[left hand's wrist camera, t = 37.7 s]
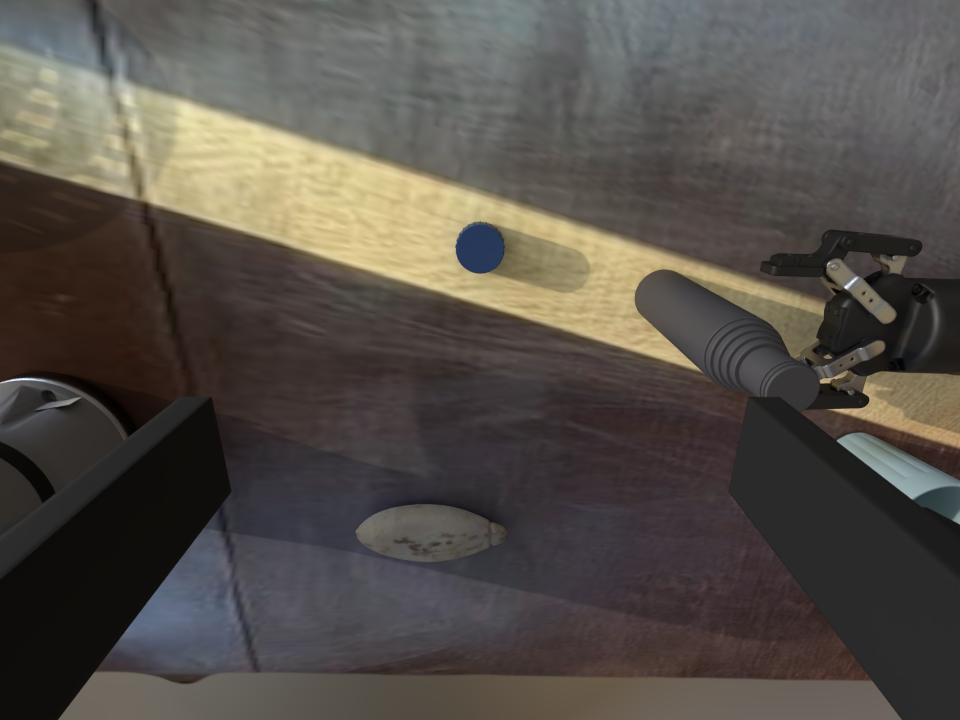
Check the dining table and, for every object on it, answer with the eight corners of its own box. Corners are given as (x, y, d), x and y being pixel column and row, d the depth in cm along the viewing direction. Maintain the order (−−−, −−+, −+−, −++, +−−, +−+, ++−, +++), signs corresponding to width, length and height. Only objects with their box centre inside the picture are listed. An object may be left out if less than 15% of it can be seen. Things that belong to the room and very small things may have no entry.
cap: (476, 278, 45) (476, 284, 43) (446, 242, 44) (444, 246, 42) (513, 249, 44) (514, 253, 42) (483, 211, 43) (483, 213, 41)
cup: (820, 498, 53) (897, 573, 43) (805, 439, 51) (883, 504, 41) (895, 473, 52) (991, 543, 42) (884, 411, 49) (983, 471, 40)
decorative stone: (505, 546, 55) (507, 570, 52) (362, 545, 55) (355, 569, 52) (507, 499, 53) (508, 520, 50) (358, 498, 53) (350, 519, 50)
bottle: (669, 258, 44) (813, 329, 25) (698, 298, 46) (856, 395, 26) (624, 292, 45) (729, 386, 26) (653, 331, 47) (774, 447, 28)
